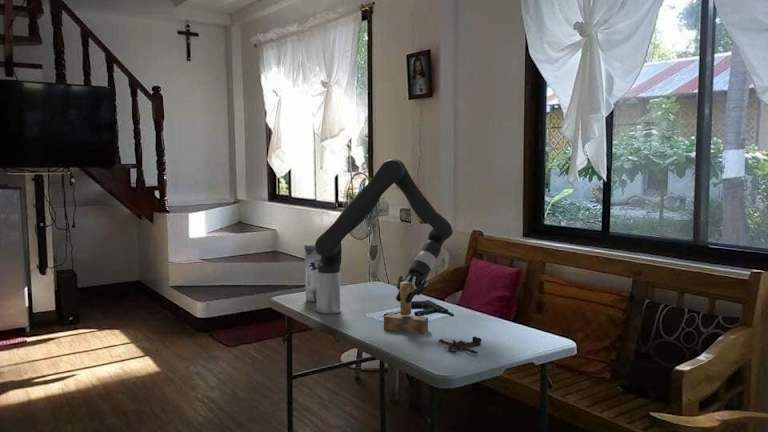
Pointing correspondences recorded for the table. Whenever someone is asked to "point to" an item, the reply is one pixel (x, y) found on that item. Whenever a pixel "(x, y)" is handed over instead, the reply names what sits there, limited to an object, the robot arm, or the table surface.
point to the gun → (428, 307)
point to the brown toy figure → (462, 345)
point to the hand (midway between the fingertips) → (402, 301)
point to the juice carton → (311, 272)
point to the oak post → (404, 292)
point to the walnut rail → (406, 323)
